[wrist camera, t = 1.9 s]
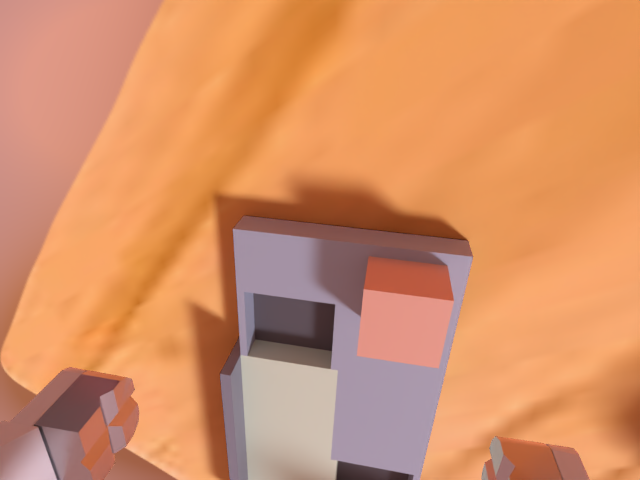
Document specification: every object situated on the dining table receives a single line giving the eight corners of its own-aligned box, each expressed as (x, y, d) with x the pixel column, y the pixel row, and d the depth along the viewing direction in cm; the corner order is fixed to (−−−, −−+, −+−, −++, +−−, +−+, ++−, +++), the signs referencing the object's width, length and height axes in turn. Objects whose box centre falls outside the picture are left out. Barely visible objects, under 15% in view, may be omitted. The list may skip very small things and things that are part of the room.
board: (232, 214, 27) (207, 242, 24) (468, 240, 25) (478, 275, 22) (249, 495, 41) (235, 539, 38) (402, 526, 39) (402, 576, 36)
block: (368, 256, 25) (363, 289, 22) (447, 265, 24) (454, 300, 21) (362, 317, 27) (356, 355, 24) (434, 328, 26) (438, 368, 23)
